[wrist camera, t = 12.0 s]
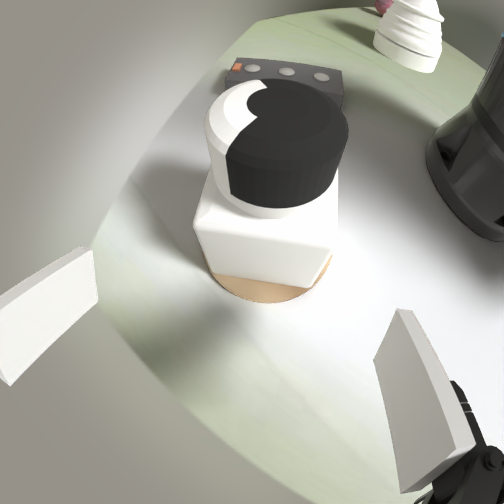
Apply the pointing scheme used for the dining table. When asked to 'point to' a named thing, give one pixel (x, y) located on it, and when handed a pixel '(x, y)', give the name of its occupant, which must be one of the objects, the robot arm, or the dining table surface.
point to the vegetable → (383, 5)
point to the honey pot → (411, 34)
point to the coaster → (262, 287)
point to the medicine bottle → (271, 182)
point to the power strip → (288, 75)
